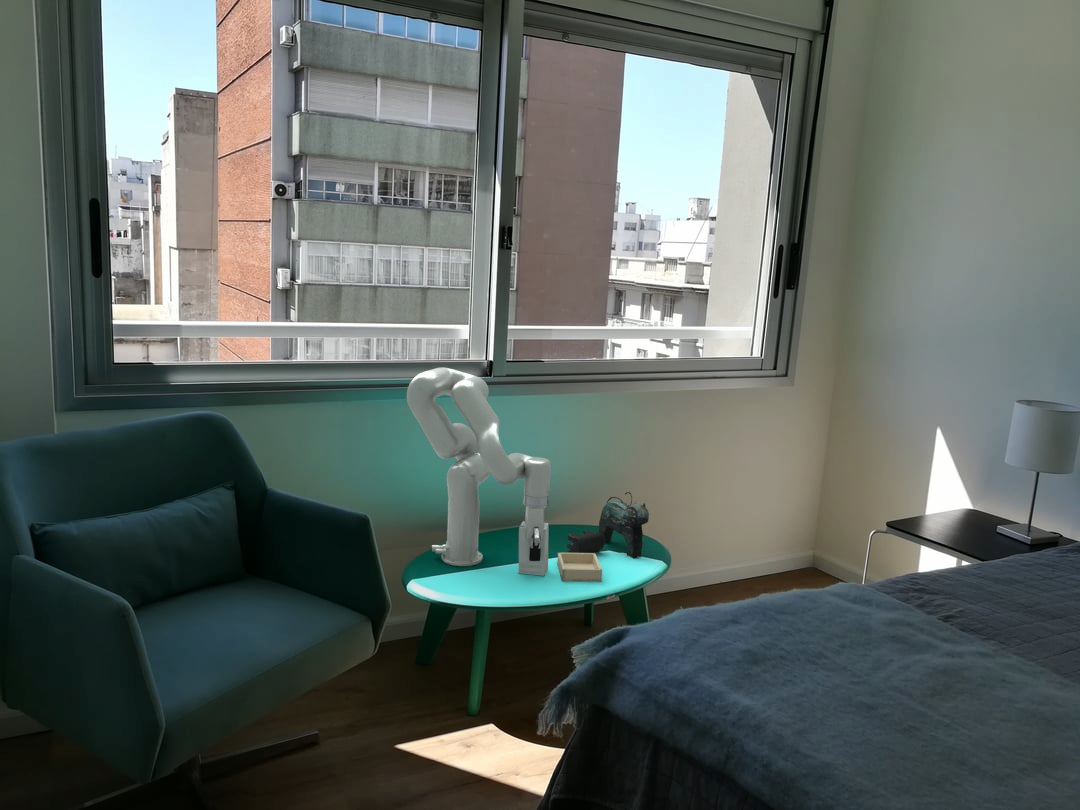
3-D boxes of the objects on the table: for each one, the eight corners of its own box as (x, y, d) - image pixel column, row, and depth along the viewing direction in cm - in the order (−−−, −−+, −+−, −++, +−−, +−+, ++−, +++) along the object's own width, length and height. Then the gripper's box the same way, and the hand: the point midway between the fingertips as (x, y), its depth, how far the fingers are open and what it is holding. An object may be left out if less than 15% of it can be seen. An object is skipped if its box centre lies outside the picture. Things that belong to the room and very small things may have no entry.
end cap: (579, 560, 268) (580, 539, 266) (565, 552, 273) (566, 532, 272) (603, 554, 273) (605, 534, 272) (590, 547, 279) (591, 527, 278)
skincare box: (547, 569, 258) (550, 522, 255) (544, 577, 252) (547, 529, 250) (520, 566, 260) (523, 519, 257) (516, 573, 254) (518, 525, 251)
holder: (562, 581, 250) (562, 569, 250) (557, 563, 264) (557, 552, 263) (601, 581, 251) (602, 570, 251) (594, 564, 265) (595, 553, 264)
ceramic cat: (647, 558, 272) (652, 497, 269) (631, 561, 269) (636, 500, 265) (607, 538, 288) (612, 481, 284) (592, 541, 285) (596, 483, 281)
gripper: (521, 490, 260) (519, 544, 263) (525, 508, 243) (522, 565, 246) (546, 491, 261) (543, 544, 264) (551, 509, 244) (548, 565, 247)
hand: (533, 554), depth 255 cm, fingers open, 9 cm apart
